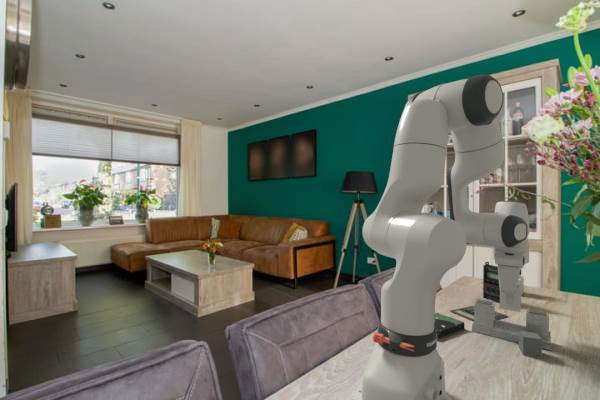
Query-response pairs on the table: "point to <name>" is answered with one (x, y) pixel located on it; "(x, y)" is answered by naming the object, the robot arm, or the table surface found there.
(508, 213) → the robot arm
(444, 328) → the disk drive
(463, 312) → the calculator
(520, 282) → the medicine bottle
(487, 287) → the geiger counter
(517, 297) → the block
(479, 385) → the table surface
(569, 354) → the table surface
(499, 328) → the rail
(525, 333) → the block
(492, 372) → the table surface
